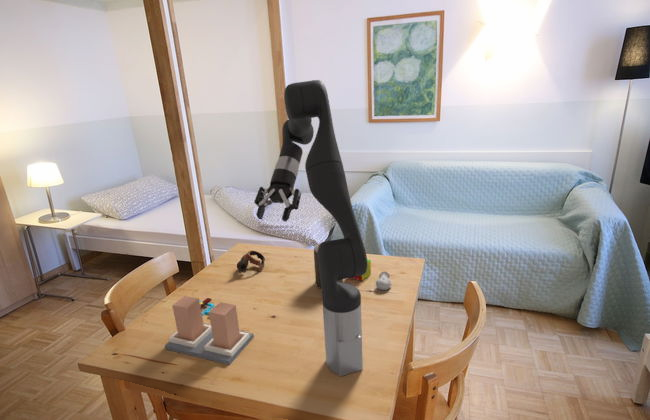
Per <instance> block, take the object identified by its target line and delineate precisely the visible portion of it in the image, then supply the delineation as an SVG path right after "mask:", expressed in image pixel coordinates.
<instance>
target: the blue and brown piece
mask: <svg viewBox="0 0 650 420" xmlns="http://www.w3.org/2000/svg"><path fill="white" fill-rule="evenodd" d="M199 301H200V307H201V313H202V317H203V316H204V315H209V311H210V310H212V309H213V308H214V307H215V304H213V303H211V301H212V298H210V297H207V298H205V299H204V300H203V301H202V300H199Z"/></svg>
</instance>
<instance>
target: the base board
mask: <svg viewBox="0 0 650 420" xmlns="http://www.w3.org/2000/svg"><path fill="white" fill-rule="evenodd" d="M200 301H201V300H200V298H199V297H194V296H187V295H184V296H182V297H181V298H180V299H178V300H176V302H174V303H173V304H171V305H172V310H173V316H174V320H175V324H176V325H175V326H176V330H177V331H175V333H173V334H172V335H171V336H169V337H168V342H167V343H166V344H165V345H164V350H168V351H172V352H176V353H180V354H184V355H187V356H193V357H195V358H200V359H205V360H208V361H212V362H216V363H221V364H223V365H224V364H225V365H228V366H230V365H232V363H233V362H234V361H235V359H236V358H237V357H238V356H239V355H240V354H241V352H242V351H243V350H244V349H245V348H246V347H247V346H248V345H249V343H250V342H251V341H252V340H253V339H254V338H255V336H254V333H252V332H247V331H242V330H239V332H240V341H239V342H238V343H237V344H236V345H235V346H234V347H233V348H232V349H231V350H227V349H223V348H219V347H215V346H214V341H213V335H212V329H211V323H210V324H209V323H204V320H203V316H202V313H201V307H200Z"/></svg>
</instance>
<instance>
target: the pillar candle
mask: <svg viewBox="0 0 650 420" xmlns="http://www.w3.org/2000/svg"><path fill="white" fill-rule="evenodd" d="M319 245H320V243H318V244H317V245H315V246H314V247H313V258H314V259H313V260H314V261H313V262H314V275H315V285H316V287H317V288H318V289H321V280H320V272H319V264H318V247H319ZM337 282H341V283H344V279H341V280H337Z"/></svg>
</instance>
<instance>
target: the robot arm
mask: <svg viewBox="0 0 650 420" xmlns="http://www.w3.org/2000/svg"><path fill="white" fill-rule="evenodd" d="M283 96H284V107H285V111H286V116H287V120H285V121H284V123H283V125H282V129H281V130H282V132H281V133H282V134H281V135H282V144H281V145H282V146H281V148H280V152H279V156H278V159H277V161H276V163H275V167H274V168H273V172H272V176H271V179H270V183H269V187H268V188H264V187H263V186H260V187H259V189H258V191H257V194H256V196H255V199H254V204H255V205H256V206H257V211H256V216H257V218H258V220H263V217H264V214H265V211H266V208H267V207H268V206H270V205H272V204H277V203H279V204H284V205H285V207H284V209H283V214H282V217H281V220H282V221H283V222H287V221H289V219H290V217H291V213H292V211H293V210H298V209H299V206H300V202H301V198H302V197H301V195H302V192H301V190H299V188H294V187H295V184H296V181H297V178H298V177H297V176H298V175H299V173H298V172H299V170H300V169H299V168H300V164H301V161H302V157H303V148H302V147H301V146H300V145H309V144H310V143H312V145H311V147H310V149H309V151H308V153H307V157H306V160H305V164H304V165H305V166H304V168H305V173H306V178H307V183H308V187H309V191H310V193H311V195H312V196H313V197H314V199H315V200H316V201H318V203H319V204H320V205H321V206H322V207H323V208H324V209H325V210H326V211H327V212H328V213H329V214H330V215H331V216H332V217H333V219H334V220H335V221H336V223H337V224H338V227H339V228H340V231H341V232H342V233H341V234H342V236H343V238H338V239H332V240H326V241H322V242H320V243H319V244H320V245H319V247H318V264H319V272H320V280H321V291H320V292H321V299H322V300H321V302H322V314H323V316H322V317H323V333H324V347H325V348H324V349H325V359H326V360H325V362H326V366H327V368H328V369H329V370H330V371H332V372H334V373H335V374H336V375H338V377H342V376H343V377H344V376H345V375H346V376H348V375H350V374H353V373H357V372H361V371H363V367H364V365H363V360H364V359H363V333H362V332H363V330H362V327H363V326H362V298H361V297H362V295H361V292H360V289H359V288H357V287H356V286H355V285H353V284H350V283H348V282H347V283H346V282H343V283H341V282H337V280H341V279H343V280H346V279H350V278H352V277H356V276H361V275H364V274H365V273H366V271H367V259H368V256H367V252H366V248H365V245H364V241H363V238H362V235H361V232H360V229H359V225H358V222H357V219H356V215H355V213H354V209H353V206H352V200H351V197H350V193H349V187H348V183H347V177H346V172H345V168H344V165H343V161H342V158H341V153H340V150H339V146H338V142H337V139H336V133H335V130H334V123H333V118H332V117H333V116H332V113H331V106H330V100H329V96H328V91H327V88H326V85H325V83H324V82H323V81H322V80H320V79H315V80H314V79H313V80H307V81H299V82H292V83H289V84H287V86H285V89H284V94H283ZM313 118H318V122H319V123H318V128H317V132H316V134H315V138H314V132H315V131H314V127H313V124H312V119H313ZM313 138H314V140H313ZM312 140H313V142H312ZM292 196H293V198H292V202H291V201H290V200H289V198H291V197H292Z"/></svg>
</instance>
